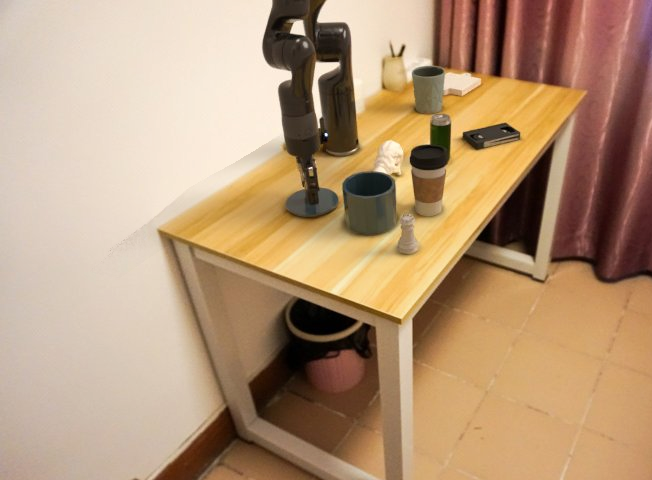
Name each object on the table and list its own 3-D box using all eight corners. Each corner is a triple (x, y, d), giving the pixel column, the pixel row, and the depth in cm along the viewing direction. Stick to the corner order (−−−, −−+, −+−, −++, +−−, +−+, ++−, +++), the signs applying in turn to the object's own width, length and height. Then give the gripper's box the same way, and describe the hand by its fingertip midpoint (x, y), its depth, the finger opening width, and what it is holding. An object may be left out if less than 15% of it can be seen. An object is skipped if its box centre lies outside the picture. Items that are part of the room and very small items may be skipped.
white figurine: (404, 139, 134) (384, 164, 126) (406, 168, 140) (387, 194, 132) (381, 135, 136) (360, 160, 129) (384, 164, 142) (364, 189, 134)
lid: (277, 214, 125) (272, 192, 121) (300, 188, 134) (296, 166, 130) (326, 222, 122) (323, 199, 118) (346, 194, 131) (344, 172, 127)
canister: (338, 231, 119) (333, 193, 113) (356, 204, 127) (353, 168, 122) (387, 238, 116) (385, 200, 110) (402, 210, 125) (401, 174, 119)
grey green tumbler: (449, 106, 173) (451, 68, 165) (434, 117, 166) (434, 78, 159) (422, 100, 177) (422, 63, 170) (406, 111, 170) (405, 73, 163)
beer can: (437, 167, 141) (438, 123, 133) (425, 159, 144) (425, 116, 137) (454, 161, 143) (455, 118, 136) (442, 153, 147) (442, 111, 139)
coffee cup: (435, 223, 120) (436, 162, 111) (403, 213, 124) (401, 153, 115) (453, 205, 126) (455, 146, 117) (421, 196, 129) (421, 138, 120)
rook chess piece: (403, 257, 111) (402, 225, 106) (393, 246, 114) (392, 214, 109) (422, 251, 112) (422, 219, 107) (412, 240, 115) (411, 208, 110)
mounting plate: (457, 98, 177) (458, 93, 176) (425, 91, 184) (425, 85, 182) (484, 82, 189) (484, 76, 188) (452, 75, 195) (452, 70, 194)
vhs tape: (476, 149, 148) (477, 143, 147) (462, 138, 154) (462, 132, 152) (520, 139, 152) (521, 132, 151) (505, 128, 158) (505, 122, 157)
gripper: (278, 120, 121) (289, 183, 131) (289, 146, 110) (300, 213, 120) (311, 115, 123) (320, 178, 133) (325, 140, 112) (333, 207, 122)
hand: (310, 194), depth 127 cm, fingers open, 8 cm apart
